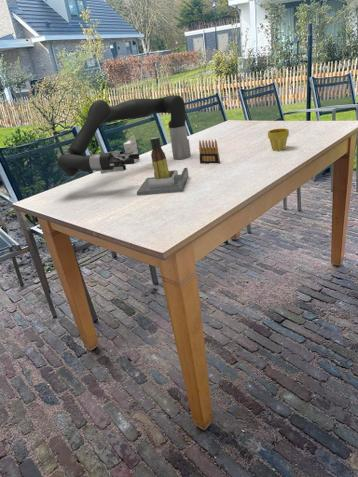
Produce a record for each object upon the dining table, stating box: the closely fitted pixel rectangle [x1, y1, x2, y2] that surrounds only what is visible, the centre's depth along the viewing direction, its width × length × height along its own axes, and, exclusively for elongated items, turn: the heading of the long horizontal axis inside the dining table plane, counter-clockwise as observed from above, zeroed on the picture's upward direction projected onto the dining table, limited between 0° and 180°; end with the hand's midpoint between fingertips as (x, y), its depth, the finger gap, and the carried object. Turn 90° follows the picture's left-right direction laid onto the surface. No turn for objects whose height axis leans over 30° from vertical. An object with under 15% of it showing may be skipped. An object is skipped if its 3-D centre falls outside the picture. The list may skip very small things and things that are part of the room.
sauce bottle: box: [149, 136, 170, 179], centre depth 160 cm, size 6×6×20 cm
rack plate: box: [136, 167, 190, 196], centre depth 164 cm, size 20×20×5 cm
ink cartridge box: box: [123, 134, 140, 164], centre depth 213 cm, size 9×5×15 cm, turn 168°
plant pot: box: [267, 127, 290, 151], centre depth 192 cm, size 10×10×10 cm
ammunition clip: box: [198, 139, 221, 165], centre depth 186 cm, size 11×2×12 cm, turn 59°
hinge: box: [100, 150, 127, 174], centre depth 201 cm, size 14×5×10 cm, turn 92°
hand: (136, 158), depth 161 cm, fingers open, 8 cm apart
